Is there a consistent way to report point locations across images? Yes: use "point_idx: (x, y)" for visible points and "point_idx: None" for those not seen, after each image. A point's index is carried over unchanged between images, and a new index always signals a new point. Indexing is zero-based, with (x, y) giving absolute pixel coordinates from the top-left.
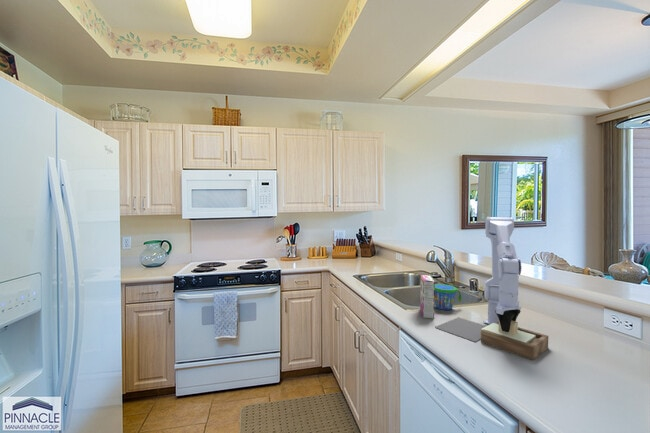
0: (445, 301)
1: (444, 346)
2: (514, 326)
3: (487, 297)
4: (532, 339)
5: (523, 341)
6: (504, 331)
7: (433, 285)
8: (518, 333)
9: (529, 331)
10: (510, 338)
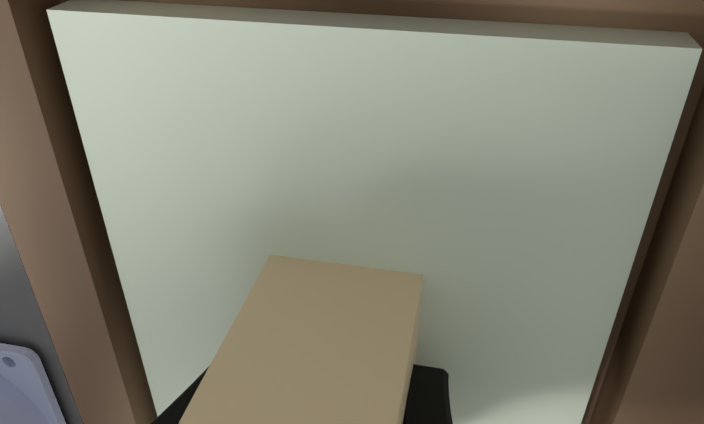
0: None
1: None
2: (385, 407)
3: None
4: (247, 10)
5: (619, 94)
6: None
7: None
8: (255, 243)
9: (25, 138)
10: (701, 297)
